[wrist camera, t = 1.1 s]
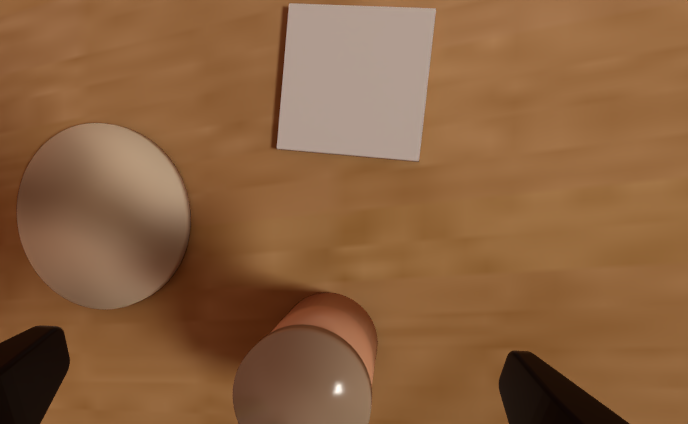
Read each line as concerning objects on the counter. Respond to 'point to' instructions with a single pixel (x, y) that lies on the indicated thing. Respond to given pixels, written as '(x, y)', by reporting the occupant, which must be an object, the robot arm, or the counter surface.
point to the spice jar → (310, 367)
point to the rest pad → (355, 80)
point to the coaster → (103, 215)
